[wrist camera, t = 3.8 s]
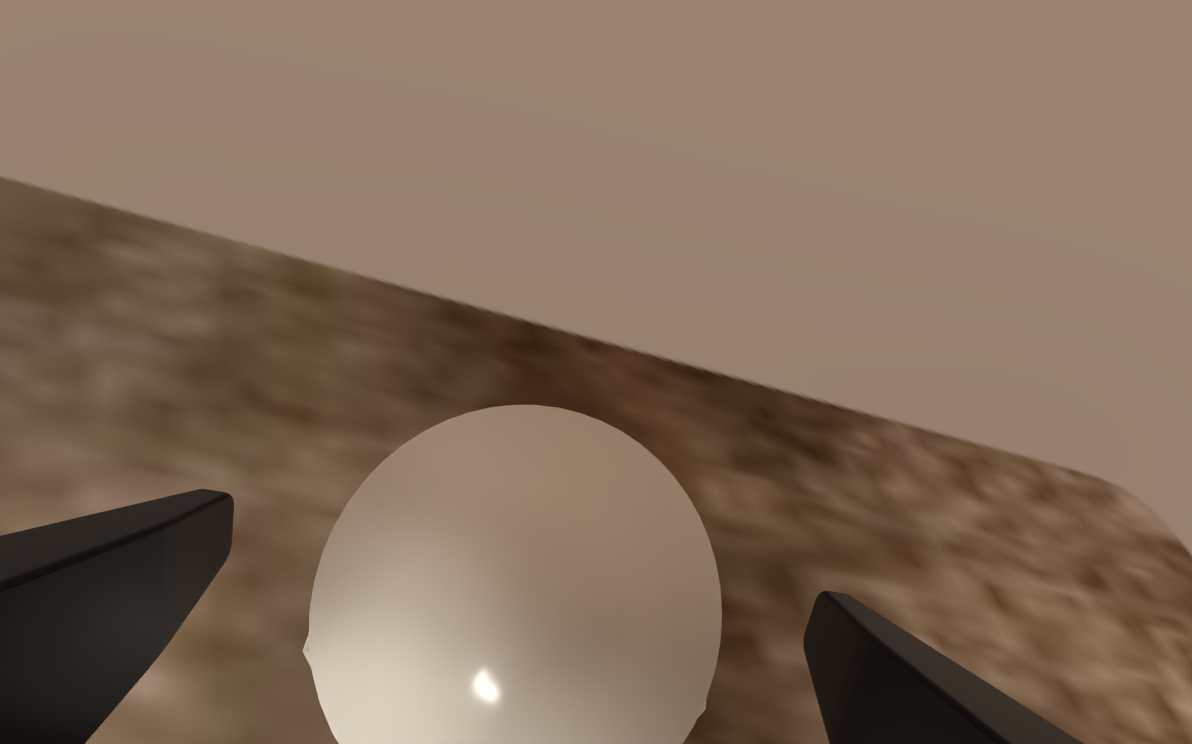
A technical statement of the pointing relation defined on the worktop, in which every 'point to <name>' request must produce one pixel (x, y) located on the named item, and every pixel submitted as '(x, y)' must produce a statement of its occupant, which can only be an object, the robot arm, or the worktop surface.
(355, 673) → the tumbler
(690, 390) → the worktop surface
